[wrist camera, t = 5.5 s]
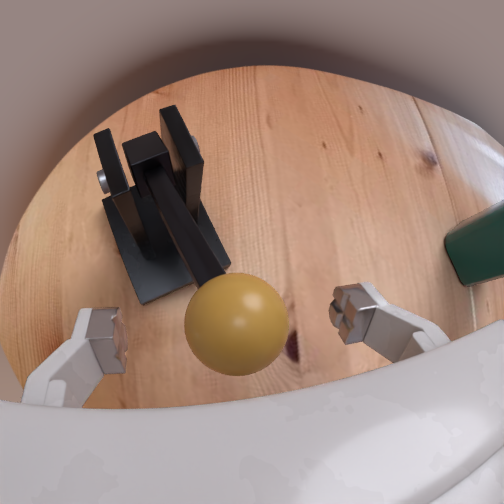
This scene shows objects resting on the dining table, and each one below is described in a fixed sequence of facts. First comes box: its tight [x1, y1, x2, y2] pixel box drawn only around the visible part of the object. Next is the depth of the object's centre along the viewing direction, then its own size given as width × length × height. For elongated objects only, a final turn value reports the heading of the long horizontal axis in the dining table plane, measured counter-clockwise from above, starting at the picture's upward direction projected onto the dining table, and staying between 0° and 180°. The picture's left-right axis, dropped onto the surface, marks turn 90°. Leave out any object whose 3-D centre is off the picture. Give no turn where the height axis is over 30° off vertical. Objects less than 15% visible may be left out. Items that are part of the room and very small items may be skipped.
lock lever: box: [122, 131, 289, 376], centre depth 13 cm, size 14×4×4 cm, turn 27°
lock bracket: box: [94, 105, 231, 306], centre depth 22 cm, size 11×9×15 cm
